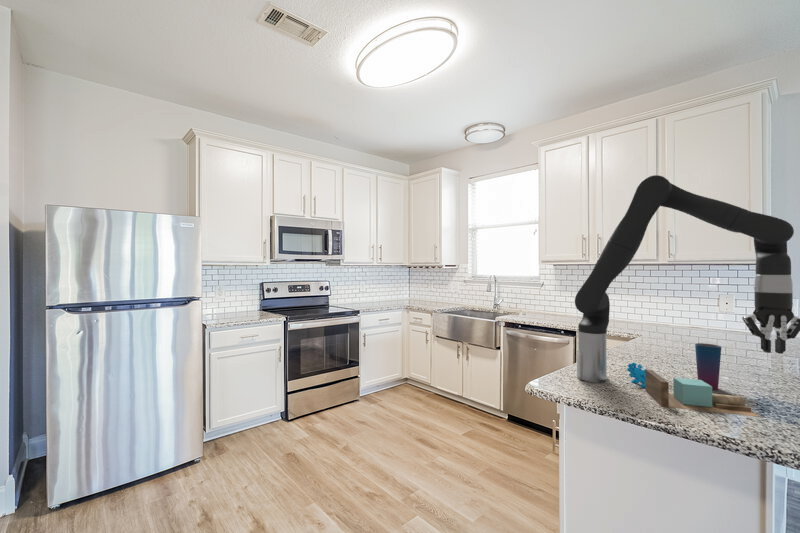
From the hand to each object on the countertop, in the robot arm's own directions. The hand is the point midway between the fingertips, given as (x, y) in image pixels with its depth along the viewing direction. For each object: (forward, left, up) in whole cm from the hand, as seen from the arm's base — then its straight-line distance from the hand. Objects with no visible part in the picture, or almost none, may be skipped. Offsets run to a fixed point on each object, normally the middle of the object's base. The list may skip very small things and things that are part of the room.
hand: (773, 352), depth 103 cm
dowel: (-11, 0, -16) cm, 20 cm away
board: (-18, 0, -17) cm, 24 cm away
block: (-19, 0, -16) cm, 25 cm away
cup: (-8, +19, -17) cm, 27 cm away
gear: (-28, +15, -17) cm, 36 cm away
